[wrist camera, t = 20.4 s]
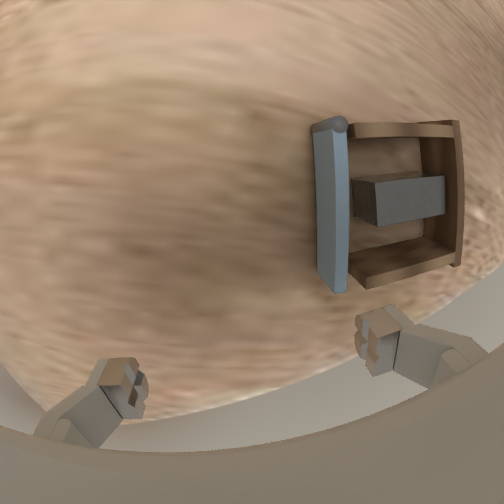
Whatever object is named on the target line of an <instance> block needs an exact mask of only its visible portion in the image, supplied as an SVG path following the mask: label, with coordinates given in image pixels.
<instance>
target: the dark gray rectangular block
mask: <svg viewBox="0 0 504 504" xmlns="http://www.w3.org/2000/svg"><path fill="white" fill-rule="evenodd" d="M351 182H352V192H353V203H354V215H355V217H357V218H359V219H362V220H364V221H366V222H368V223H370V224H372V225H374V226H376V227H382V226H387V225H392V224H397V223H402V222H407V221H412V220H417V219H422V218H427V217H432V216H437V215H442V214H445V178H444V176H443V175H437V174H431V173H424V172H405V173H395V174H385V175H376V176H367V177H359V178H351Z"/></svg>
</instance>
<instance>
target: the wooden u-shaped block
mask: <svg viewBox="0 0 504 504" xmlns="http://www.w3.org/2000/svg"><path fill="white" fill-rule="evenodd" d="M346 134H347V140H355V139H374V138H419V141H420V149H421V159H422V172H424V173H431V174H437V175H443V176H444V178H445V214H442V215H437V216H432V217H427V218H424V237H420V238H416V239H412V240H408V241H403V242H399V243H395V244H391V245H386V246H382V247H377V248H373V249H369V250H364V251H360V252H355V253H351V254H348V273H349V274H351V275H352V276H353V277H354V278H355V279H356V280H357V281H358V282H359V283H360V284H361V285H362V286H363V287H364V288H365V289H366V290H367V289H370V288H374V287H377V286H381V285H385V284H388V283H391V282H395V281H398V280H402V279H405V278H408V277H411V276H415V275H418V274H421V273H424V272H427V271H430V270H433V269H436V268H440V267H443V266H445V265H448V264H449V265H450V266H452V267H457V266H459V265H460V264H461V255H462V244H463V231H464V165H463V152H462V141H461V133H460V125H459V121H457V120H442V121H429V122H418V123H353V124H348V129H347V130H346Z"/></svg>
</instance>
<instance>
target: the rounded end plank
mask: <svg viewBox="0 0 504 504" xmlns="http://www.w3.org/2000/svg"><path fill="white" fill-rule="evenodd" d="M347 129H348V122H347V120H346V118H344V117H343V116H335V117H332V118H329V119H326V120H324V121H321V122H318V123H315V124H313V125H312V126H311V133H312V135H313V145H314V161H315V180H316V206H317V273H318V274H319V275H320V277H321V278H322V279H323V280H324V282H325V283H326V284H327V285H328V287H329V288H330V289H331V290H332V292H333V293H334V294H336V293H343V292H346V289H347V274H348V252H349V170H348V149H347V134H346V130H347Z"/></svg>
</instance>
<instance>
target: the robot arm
mask: <svg viewBox="0 0 504 504" xmlns="http://www.w3.org/2000/svg"><path fill="white" fill-rule="evenodd" d="M355 326H356V327H357V329H358V330H357V332H356V333H355V346H356V350H357V353H358V354H359V356H360V358H362V359H365V360H366V365H365V366H366V367H367V369H368V370H369V372H370V373H371V375H372V376H373V377H374V376H377V375H380V374H383V373H386V372H389V371H391V370H393V371H395V372H397V373H398V374H400V375H402V376H404V377H406V378H408V379H410V380H412V381H414V382H416V383H418V384H420V385H422V386H424V387H426V388H428V390H426V391H424V392H423V393H420V394H418V395H416V396H414V397H412V398H410V399H408V400H405V401H403V402H401V403H399V404H396V405H394V406H392V407H389V408H387V409H384V410H382V411H379V412H377V413H374V414H372V415H369V416H366V417H363V418H360V419H358V420H355V421H352V422H349V423H346V424H343V425H340V426H336V427H333V428H330V429H326V430H323V431H319V432H315V433H311V434H307V435H304V436H299V437H295V438H291V439H286V440H281V441H277V442H271V443H265V444H260V445H254V446H247V447H239V448H231V449H222V450H211V451H198V452H133V451H120V450H109V449H100V448H99V447H100V446H101V445H102V444H103V443H104V442H105V440H106V439H107V438H108V437H109V436H110V435H111V433H112V432H113V431H114V430H115V429H116V427H118V425H119V424H120V423H121V422H122V421H123V419H142V418H143V414H144V410H145V404H144V403H143V401H144V400H145V399H146V398H147V397H148V393H149V387H148V382H147V379H146V377H145V375H144V374H143V373H142V372H140V371H139V370H138V369H139V363H138V362H137V360H136V359H135V358H133V357H127V358H111V359H110V358H108V359H100V360H98V361H97V363H96V365H95V367H94V369H93V371H92V373H91V375H90V377H89V379H88V381H87V383H86V385H85V386H81V387H80V388H79V389H77V390H76V391H74V392H73V393H72V394H70V395H69V396H68V397H66V398H65V399H64V400H62V401H61V402H60V403H58V404H57V405H56V406H54V407H53V408H52V409H50V410H49V411H47V412H46V413H45V414H43V416H42V418H41V419H40V422H39V424H38V426H37V428H36V430H35V432H34V434H33V435H29V434H25V433H22V432H19V431H16V430H13V429H10V428H6V427H4V426H1V425H0V504H504V343H503V344H502V345H500V346H499V347H498V348H496V349H495V350H493V351H492V352H490V353H488V352H486V351H485V350H484V349H483V348H482V347H481V346H480V345H479V344H478V343H477V342H475V341H474V340H473V339H472V338H471V337H468V336H464V335H460V334H456V333H452V332H448V331H445V330H441V329H437V328H433V327H429V326H426V325H422V324H416V325H415V324H414V323H413V322H412V321H411V320H410V319H409V318H408V317H407V316H406V315H405V314H404V313H403V312H402V311H400V310H399V309H398V308H397V307H396V306H395V305H394V304H390V305H387V306H384V307H381V308H379V309H376V310H373V311H370V312H367V313H363V314H360V315H356V318H355Z"/></svg>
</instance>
